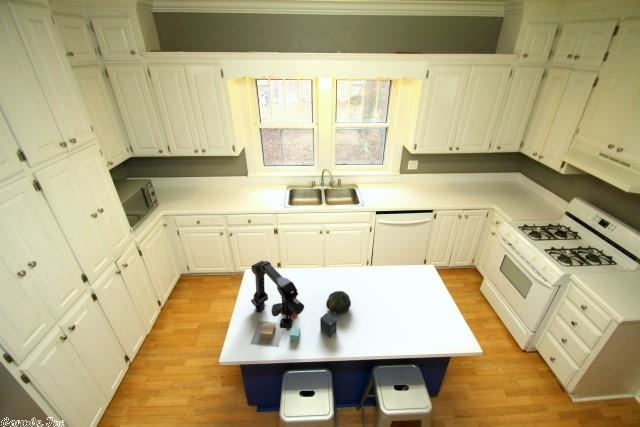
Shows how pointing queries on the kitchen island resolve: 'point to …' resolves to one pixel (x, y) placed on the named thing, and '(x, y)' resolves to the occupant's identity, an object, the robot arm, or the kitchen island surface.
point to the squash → (338, 302)
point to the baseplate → (265, 341)
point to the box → (328, 325)
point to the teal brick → (295, 334)
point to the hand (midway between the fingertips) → (289, 323)
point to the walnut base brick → (267, 331)
